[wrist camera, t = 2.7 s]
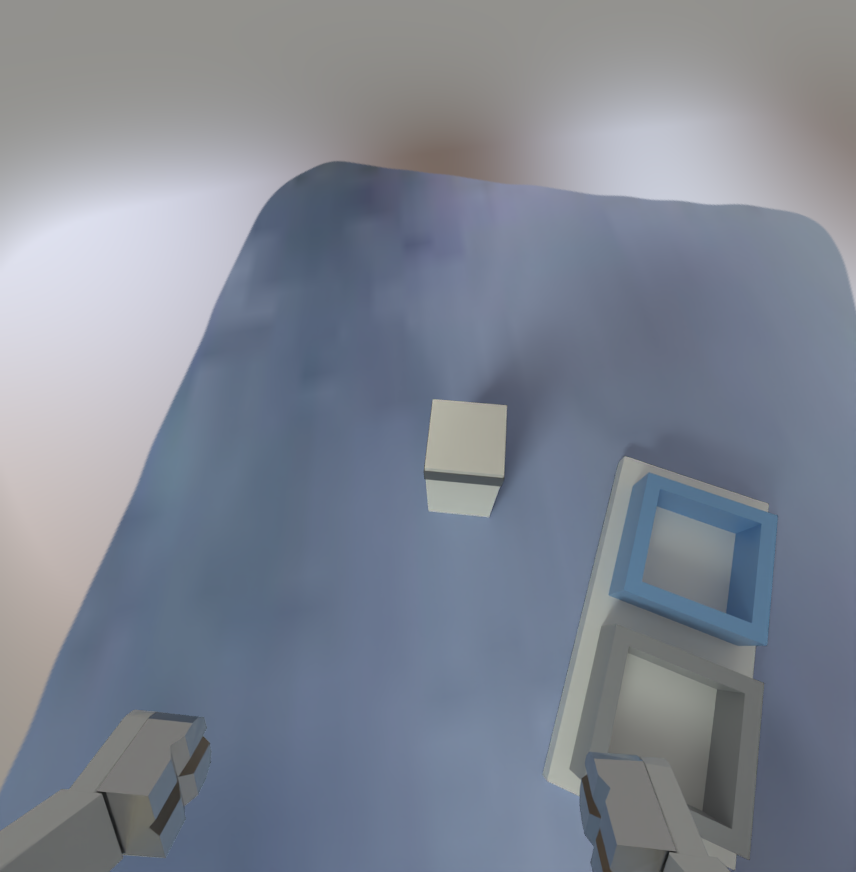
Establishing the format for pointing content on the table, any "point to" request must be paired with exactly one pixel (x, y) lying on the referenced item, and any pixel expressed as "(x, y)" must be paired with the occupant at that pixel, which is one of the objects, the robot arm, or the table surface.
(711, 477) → the table surface
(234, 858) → the table surface
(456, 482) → the plug
